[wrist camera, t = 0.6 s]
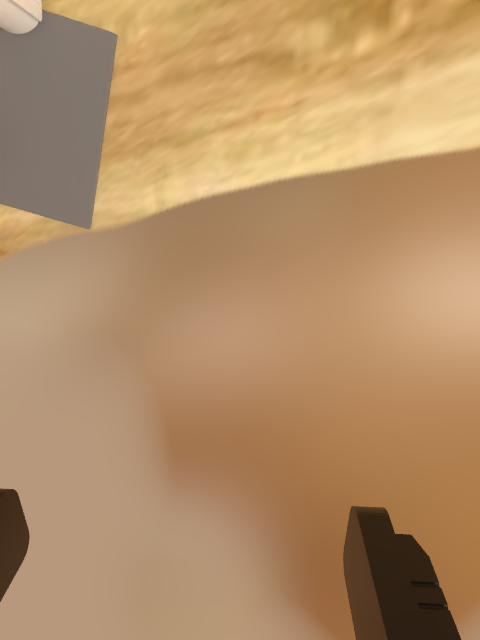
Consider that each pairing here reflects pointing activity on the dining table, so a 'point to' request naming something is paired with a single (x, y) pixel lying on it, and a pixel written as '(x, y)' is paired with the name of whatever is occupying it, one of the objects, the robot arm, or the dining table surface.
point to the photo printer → (20, 15)
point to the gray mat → (54, 117)
